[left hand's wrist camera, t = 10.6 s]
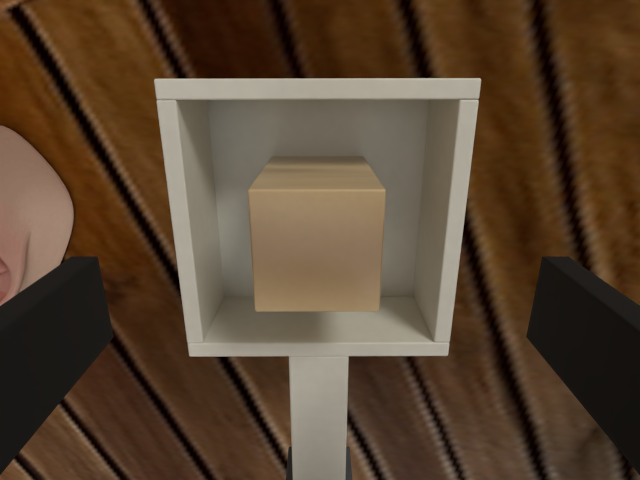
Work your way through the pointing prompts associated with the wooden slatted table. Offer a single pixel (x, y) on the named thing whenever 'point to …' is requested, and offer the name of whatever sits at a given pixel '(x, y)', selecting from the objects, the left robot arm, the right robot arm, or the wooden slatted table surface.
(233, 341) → the handled bin
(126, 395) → the wooden slatted table surface
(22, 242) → the anatomical model
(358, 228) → the birch block
